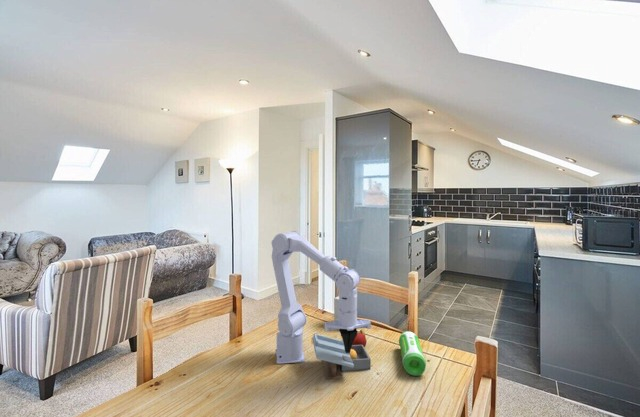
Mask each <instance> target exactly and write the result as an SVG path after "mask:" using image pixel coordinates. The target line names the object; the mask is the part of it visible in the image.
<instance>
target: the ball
mask: <svg viewBox="0 0 640 417" xmlns="http://www.w3.org/2000/svg"><path fill="white" fill-rule="evenodd" d="M350 357H351V359H356V358H357V353H356V351H355V350H353V349H351V352H350Z"/></svg>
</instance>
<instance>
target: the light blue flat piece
mask: <svg viewBox="0 0 640 417" xmlns="http://www.w3.org/2000/svg"><path fill="white" fill-rule="evenodd" d="M311 339H312V344H313V349H314V353H315V357H316V359H317V360H321V361H322V360H324V361H328V362H332V363H336V364H339V366H340V365H344V366H348V367H352V368H353V367H354V364H353V361H352V359H351V357H350V353H346V352H345V348H344V343H343V340H341V339H336V338H333V337H329V336H325V335H321V334H317V333H314V334H313V336H312V338H311ZM350 352H351V351H350Z"/></svg>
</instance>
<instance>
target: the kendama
mask: <svg viewBox="0 0 640 417" xmlns="http://www.w3.org/2000/svg"><path fill="white" fill-rule="evenodd" d="M364 329H365V328H360V330H359V331H357V336H356V337H355V339H354V341H353V344H352V345H363V346H364V348H366V346H367V338H366V332H365V330H364Z"/></svg>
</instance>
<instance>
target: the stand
mask: <svg viewBox="0 0 640 417" xmlns="http://www.w3.org/2000/svg"><path fill="white" fill-rule="evenodd" d="M321 362H322V366H323V371H324V374H325V378H326V380H331V379H332V380H333V379H334V380H335V379H343V377H344V376H343V372H342V370H341V367H340V364H336V363H332V362H328V361H324V360H321Z"/></svg>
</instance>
